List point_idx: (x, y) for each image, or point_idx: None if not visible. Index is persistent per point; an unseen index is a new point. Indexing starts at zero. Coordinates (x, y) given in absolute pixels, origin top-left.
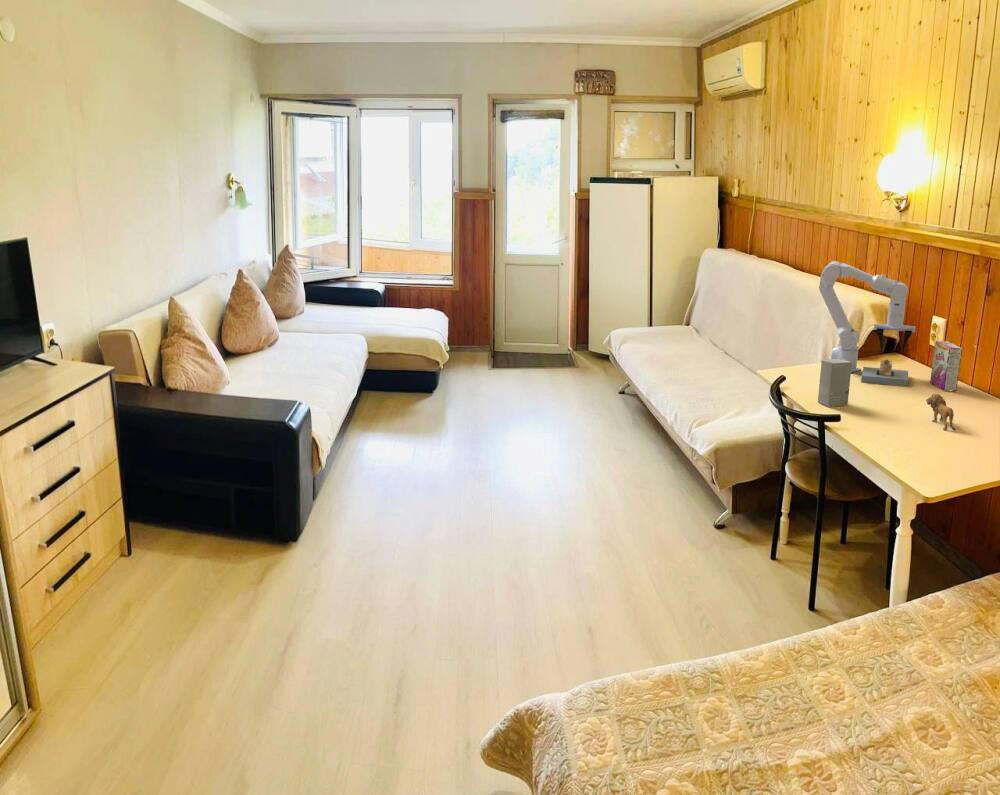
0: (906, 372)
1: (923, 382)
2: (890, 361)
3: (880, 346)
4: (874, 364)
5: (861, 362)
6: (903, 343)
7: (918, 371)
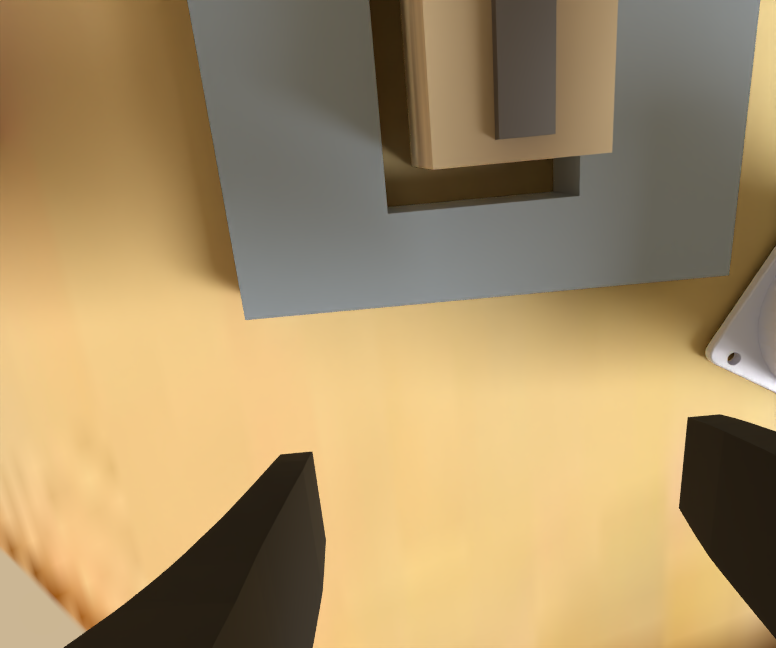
0: (246, 223)
1: (69, 141)
2: (457, 108)
3: (753, 424)
4: (576, 594)
5: (681, 610)
6: (262, 529)
7: (208, 530)
